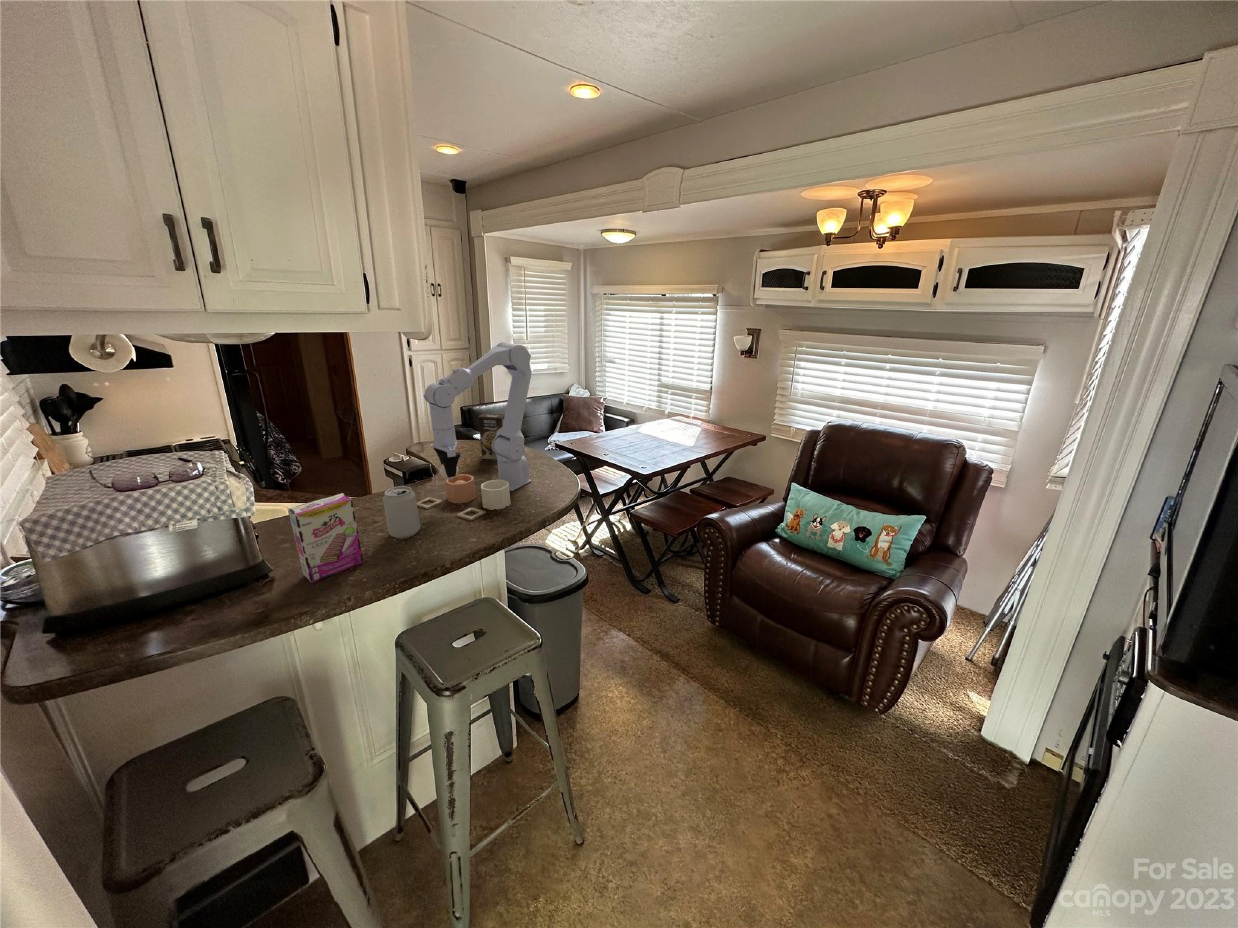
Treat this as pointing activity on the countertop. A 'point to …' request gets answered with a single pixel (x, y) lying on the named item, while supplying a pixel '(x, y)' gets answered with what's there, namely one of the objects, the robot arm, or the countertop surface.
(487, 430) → the coffee box
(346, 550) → the candy bar box
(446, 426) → the robot arm
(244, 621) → the countertop surface
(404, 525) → the can
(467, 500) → the terracotta round cup
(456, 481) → the terracotta ball
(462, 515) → the stand
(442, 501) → the stand
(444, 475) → the cream ball
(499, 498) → the white cup
